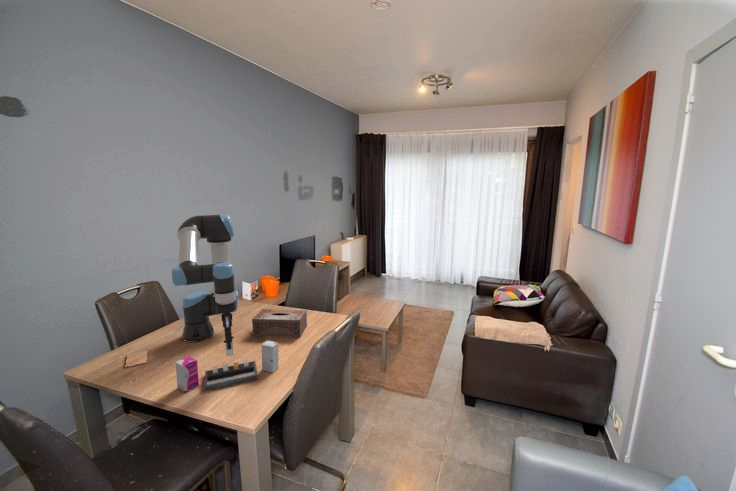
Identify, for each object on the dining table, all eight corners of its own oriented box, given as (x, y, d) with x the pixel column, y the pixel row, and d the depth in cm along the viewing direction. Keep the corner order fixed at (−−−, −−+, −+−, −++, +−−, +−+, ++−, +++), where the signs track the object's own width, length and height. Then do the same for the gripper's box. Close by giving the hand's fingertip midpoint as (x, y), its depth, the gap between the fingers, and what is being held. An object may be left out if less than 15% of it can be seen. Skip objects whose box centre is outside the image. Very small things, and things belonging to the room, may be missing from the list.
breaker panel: (204, 391, 127) (203, 378, 126) (205, 375, 138) (204, 363, 137) (258, 379, 135) (257, 367, 134) (255, 365, 146) (254, 353, 145)
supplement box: (185, 393, 126) (182, 366, 124) (177, 388, 129) (174, 361, 127) (199, 385, 131) (197, 359, 129) (191, 380, 134) (188, 355, 132)
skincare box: (261, 370, 142) (260, 344, 140) (268, 365, 146) (266, 340, 144) (273, 373, 140) (272, 347, 138) (279, 367, 144) (278, 342, 142)
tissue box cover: (253, 336, 174) (252, 318, 173) (263, 325, 189) (262, 308, 187) (300, 337, 173) (299, 320, 171) (307, 326, 187) (306, 309, 185)
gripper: (215, 297, 135) (219, 349, 139) (215, 308, 123) (220, 364, 128) (234, 295, 138) (238, 346, 143) (236, 305, 126) (240, 360, 131)
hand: (229, 355), depth 135 cm, fingers closed
